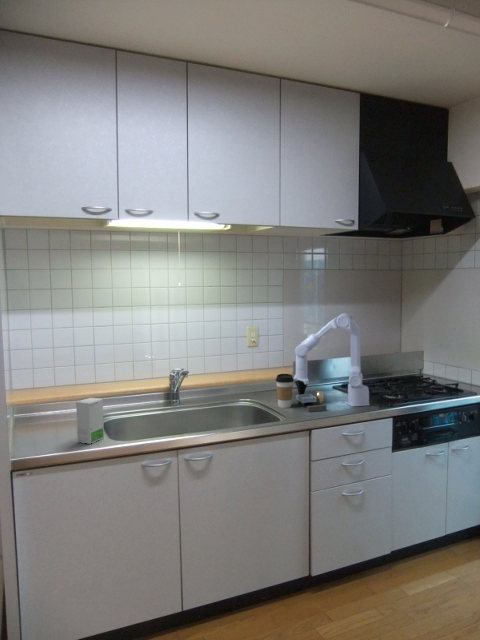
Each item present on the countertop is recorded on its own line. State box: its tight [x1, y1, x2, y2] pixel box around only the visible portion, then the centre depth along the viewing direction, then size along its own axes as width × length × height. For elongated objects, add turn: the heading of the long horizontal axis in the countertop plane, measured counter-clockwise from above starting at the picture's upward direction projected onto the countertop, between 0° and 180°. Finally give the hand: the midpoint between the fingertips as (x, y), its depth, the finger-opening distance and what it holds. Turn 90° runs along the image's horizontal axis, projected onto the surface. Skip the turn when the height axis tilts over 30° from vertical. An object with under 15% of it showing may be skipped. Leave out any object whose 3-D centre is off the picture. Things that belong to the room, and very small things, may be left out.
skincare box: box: [75, 397, 105, 445], centre depth 182 cm, size 8×7×16 cm
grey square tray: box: [295, 393, 317, 407], centre depth 232 cm, size 8×8×4 cm
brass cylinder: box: [315, 390, 325, 405], centre depth 234 cm, size 4×4×6 cm
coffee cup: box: [275, 373, 294, 409], centre depth 228 cm, size 8×8×15 cm
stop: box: [306, 404, 327, 413], centre depth 220 cm, size 9×1×2 cm, turn 105°
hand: (301, 395), depth 238 cm, fingers closed
